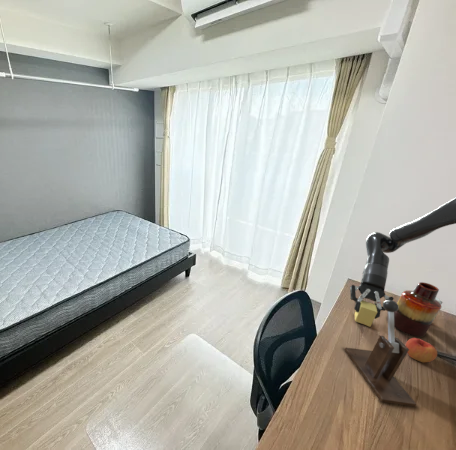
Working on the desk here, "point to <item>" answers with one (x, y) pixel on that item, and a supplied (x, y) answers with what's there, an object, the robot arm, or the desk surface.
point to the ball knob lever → (391, 323)
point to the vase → (417, 310)
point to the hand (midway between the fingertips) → (366, 314)
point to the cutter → (382, 370)
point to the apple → (421, 350)
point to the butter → (366, 313)
